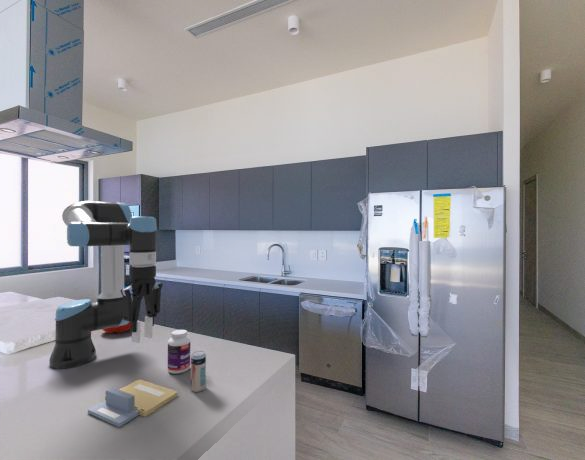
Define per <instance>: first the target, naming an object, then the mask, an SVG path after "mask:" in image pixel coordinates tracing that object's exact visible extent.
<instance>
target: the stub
mask: <svg viewBox="0 0 585 460" xmlns="http://www.w3.org/2000/svg"><path fill="white" fill-rule="evenodd" d="M105 396H106V400H105V399H104V400H103V401H101V402H99V403H97V404H95V405H93V406H91V407H89V408H87V414H89V415H91V416H94V417H96V418H99V419H100V420H103V421H104V422H107V423H108V424H111V425H113V426H116V427H118V428H121V427H122V426H124V425H125V424H127V423H128V422H130V421H131V420H133V419H135V418H136V417H138V416H139V411H137V410H135V396H134V395H132V394H129V393H126V392H124V391H121V390H119V389H118V388H115V387H110V388H108V389H106V390H105Z"/></svg>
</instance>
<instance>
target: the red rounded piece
mask: <svg viewBox="0 0 585 460" xmlns="http://www.w3.org/2000/svg"><path fill="white" fill-rule="evenodd" d="M101 330H102V331H103V332H106V333H109V334H114V333H123V332H126V331H127V330H130V321H129V323H127V324H126V325H122V326H118V327H112V328H106V329H101Z"/></svg>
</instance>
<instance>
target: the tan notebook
mask: <svg viewBox="0 0 585 460" xmlns="http://www.w3.org/2000/svg"><path fill="white" fill-rule="evenodd" d="M118 390H121V391H124V392H126V393H129V394H132V395H134V396H135V410H137V411H139V415H140V416H142V417H144V418H145V417H147V416H149V415H150V414H152V413H153V412H155V411H156V410H157V409H159V408H161V407H162V406H165V404H167V403H168V402H170V401H171V400H173V399H175V398H176V397H178V396H179V394H178V391H177V390H173V389H171V388H168V387H164V386H160V385H158V384H156V383H152V382H149V381H146V380H144V379H136V380H135V381H132V382H130V383H129V384H127V385H125V386H124V387H120V389H118ZM105 400H106V395H105V396H104V401H105ZM139 415H138V416H139Z"/></svg>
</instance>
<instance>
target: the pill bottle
mask: <svg viewBox="0 0 585 460" xmlns="http://www.w3.org/2000/svg"><path fill="white" fill-rule="evenodd" d="M189 369H191V338H190V337H189V336H188V330H186V329H175V330H173V331H172V332H171V337H170V338H169V339H168V341H167V372H168V373H170V374H173V375H174V374H176V375H177V374H183V373H185V372H187V371H188V370H189Z"/></svg>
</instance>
